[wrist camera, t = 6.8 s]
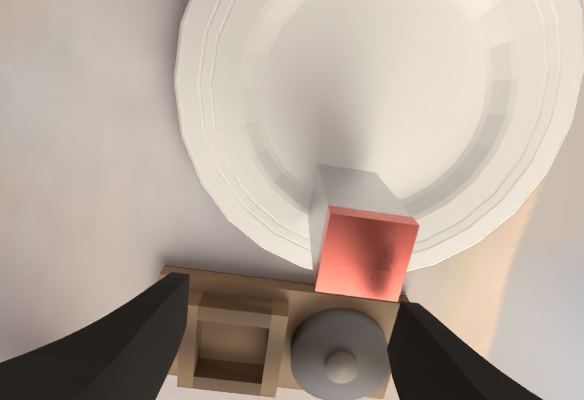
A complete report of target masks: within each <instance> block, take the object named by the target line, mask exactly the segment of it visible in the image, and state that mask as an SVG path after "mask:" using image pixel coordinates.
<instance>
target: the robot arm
mask: <svg viewBox="0 0 584 400" xmlns="http://www.w3.org/2000/svg"><path fill="white" fill-rule="evenodd" d="M189 280H190V274H184V273H176V272H171V273H169V274H168V275H166V276H165V277H163V278H162V279H161V280H159V281H158V282H156V283H155V284H154V285H152V286H151V287H149V288H148V289H147V290H145V291H144V292H142V293H141V294H139V295H138V296H136V297H135V298H133V299H132V300H130V301H129V302H127V303H126V304H124V305H123V306H121V307H119V308H118V309H116V310H114V311H113V312H111V313H109V314H108V315H106V316H105V317H103V318H101V319H99V320H98V321H96V322H94V323H92V324H90V325H88V326H86V327H84V328H82V329H80V330H78V331H76V332H74V333H72V334H70V335H68V336H66V337H64V338H62V339H59V340H57V341H54V342H52V343H50V344H47V345H45V346H43V347H40V348H38V349H36V350H33V351H31V352H28V353H26V354H23V355H20V356H18V357H15V358H12V359H9V360H7V361H4V362H1V363H0V400H155V399H156V397H157V395H158V393H159V391H160V389H161V387H162V385H163V383H164V380H165V378H166V376H167V374H168V372H169V370H170V368H171V366H172V364H173V361H174V359H175V357H176V355H177V353H178V350H179V347H180V344H181V341H182V338H183V335H184V332H185V329H186V326H187V314H188V297H189ZM387 353H388V358H389V363H390V368H391V373H392V377H393V381H394V384H395V387H396V390H397V393H398V396H399V399H400V400H542V399H541V398H539V397H538V396H536V395H535V394H533V393H532V392H530V391H528V390H527V389H526V388H524V387H523V386H521V385H520V384H518V383H517V382H515V381H514V380H512V379H511V378H510V377H508V376H507V375H505V374H504V373H502V372H501V371H500V370H498V369H497V368H496V367H494V366H493V365H492V364H491V363H489V362H488V361H487V360H486V359H484V358H483V357H482V356H480V355H479V354H478V353H477V352H475V351H474V350H473V349H472V348H471V347H469V346H468V345H467V344H466V343H465V342H463V341H462V340H461V339H460V338H459V337H457V336H456V335H455V334H454V333H453V332H452V331H451V330H449V329H448V328H447V327H446V326H445V325H444V324H443V323H441V322H440V321H439V320H438V319H437V318H436V317H434V316H433V315H432V314H431V313H430V312H429V311H427V310H426V309H425V308H424V307H422V306H421V305H420V304H418V303H412V302H404V301H401V302H400V306H399V309H398V312H397V316H396V319H395V323H394V326H393V330H392V333H391V337H390V340H389V344H388V347H387Z"/></svg>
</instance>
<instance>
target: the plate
mask: <svg viewBox="0 0 584 400" xmlns="http://www.w3.org/2000/svg"><path fill="white" fill-rule="evenodd" d="M583 72H584V20H583V6H582V3H581V0H189V2H188V4H187V7H186V9H185V12H184V14H183V17H182V19H181V22H180V29H179V38H178V46H177V55H176V63H175V72H174V80H173V81H174V88H175V96H176V103H177V111H178V118H179V126H180V133H181V136H182V139H183V141H184V144H185V146H186V149H187V151H188V154H189V156H190V159H191V161H192V164H193V166H194V169H195V171H196V174H197V176H198V179H199V181H200V182H201V184H202V185H203V187H204V188H205V189H206V191H207V192H208V193H209V195H210V196H211V197H212V199H213V200H214V202H215V203H216V204H217V206H218V207H219V208H220V210H221V211H222V212H223V214H224V215H225V217H226V218H227V219H228V220H229V221H230V222H231V223H232V224H234V225H235V226H236V227H237V228H239V229H240V230H241V231H242V232H243V233H245V234H246V235H247V236H248V237H249V238H251V239H252V240H253V241H254V242H255V243H257V244H258V245H259V246H260V247H262V248H263V249H265V250H267V251H269V252H271V253H273V254H275V255H277V256H279V257H282V258H284V259H286V260H288V261H290V262H292V263H294V264H296V265H298V266H300V267H302V268H307V269H312V270H313V265H312V254H311V244H310V234H309V224H308V215H309V209H310V203H311V198H312V192H313V186H314V180H315V175H316V169H317V164H322V165H329V166H336V167H343V168H350V169H356V170H363V171H370V172H375V173H376V174H377V175H378V176H379V177H380V179H381V180H382V181H383V182H384V183H385V185H386V186H387V187H388V188H389V189H390V191H391V192H392V193H393V194H394V195H395V197H396V198H397V199H398V200H399V201H400V203H401V204H402V205H403V206H404V207H405V209H406V210H407V211H408V212H409V213H410V215H411V216H412V217H413V218H414V219H415V221H416V222H417V223H418V224H419V225H420V227H419V230H418V234H417V237H416V240H415V244H414V247H413V251H412V254H411V258H410V261H409V265H408V268H407V271H411V270H415V269H419V268H423V267H426V266H430V265H434V264H437V263H439V262H441V261H443V260H445V259H446V258H448V257H450V256H452V255H454V254H456V253H458V252H460V251H462V250H464V249H466V248H468V247H470V246H472V245H474V244H476V243H478V242H479V241H480V240H482V239H483V238H484V237H485V236H487V235H488V234H489V233H490V232H492V231H493V230H494V229H495V228H496V227H498V226H499V225H500V224H501V223H503V222H504V221H505V220H506V219H508V218H509V217H510V216H511V215H513V214H514V213H515V212H516V211H517V210H518V209H519V207H520V206H521V205H522V204H523V202H524V201H525V200H526V199H527V197H528V196H529V195H530V194H531V192H532V191H533V190H534V189H535V187H536V186H537V185H538V184H539V182H540V181H541V180H542V179H543V177H544V176H545V175H546V174H547V172H548V171H549V169H550V167H551V165H552V163H553V161H554V159H555V157H556V154H557V153H558V151H559V148H560V146H561V144H562V142H563V140H564V138H565V136H566V134H567V132H568V130H569V128H570V126H571V124H572V122H573V117H574V113H575V108H576V104H577V99H578V95H579V90H580V86H581V82H582V77H583Z"/></svg>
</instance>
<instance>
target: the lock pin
mask: <svg viewBox="0 0 584 400" xmlns="http://www.w3.org/2000/svg"><path fill="white" fill-rule="evenodd" d="M308 224H309V234H310V244H311V254H312V265H313V275H314V285H315V291H318V292H325V293H333V294H341V295H348V296H356V297H364V298H372V299H379V300H387V301H395V302H398V299H399V296H400V292H401V289H402V285H403V282H404V279H405V275H406V272H407V268H408V265H409V261H410V258H411V254H412V251H413V247H414V244H415V240H416V237H417V234H418V230H419V227H420V225H419V224H418V223H417V222H416V221H415V219H414V218H413V217H412V216H411V215H410V213H409V212H408V211H407V210H406V209H405V207H404V206H403V205H402V204H401V203H400V201H399V200H398V199H397V198H396V197H395V195H394V194H393V193H392V192H391V191H390V189H389V188H388V187H387V186H386V185H385V183H384V182H383V181H382V180H381V179H380V177H379V176H378V175H377V174H376V173H375V172H370V171H363V170H356V169H350V168H343V167H336V166H329V165H322V164H317V169H316V175H315V180H314V186H313V192H312V198H311V203H310V209H309V215H308Z"/></svg>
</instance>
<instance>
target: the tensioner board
mask: <svg viewBox="0 0 584 400" xmlns="http://www.w3.org/2000/svg"><path fill="white" fill-rule="evenodd" d="M171 272H176V273H184V274H190V280H189V297H188V314H187V326H186V329H185V332H184V335H183V338H182V341H181V344H180V347H179V350H178V353H177V355H176V357H175V359H174V361H173V364H172V366H171V368H170V370H169V372H168V374H167V375H175V376H178V380H177V387H184V388H193V389H202V390H211V391H220V392H229V393H238V394H247V395H256V396H265V397H274V398H275V396H276V389H277V387H282V388H291V389H300V390H305V391H306V392H307V393H309V394H311V395H312V396H314V397H317V398H319V399H323V400H355V399H359V398H362V397H371V398H380V399H383V398H384V395H385V391H386V388H387V385H388V381H389V378H390V375H391V368H390V363H389V358H388V353H387V347H388V344H389V340H390V337H391V333H392V330H393V326H394V323H395V319H396V316H397V312H398V309H399V306H400V302H401V301H404V302H409V300H408V298H407V296H403V295H400V296H399V299H398V302H395V301H387V300H379V299H372V298H364V297H356V296H348V295H341V294H333V293H325V292H318V291H315V285H314V284H306V283H298V282H290V281H282V280H274V279H266V278H258V277H250V276H242V275H234V274H226V273H218V272H210V271H202V270H194V269H186V268H178V267H170V266H165V267H164V269H163V270H162V272H161V273H160V280H161V279H162V278H163V277H165V276H166V275H168V274H169V273H171Z"/></svg>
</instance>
